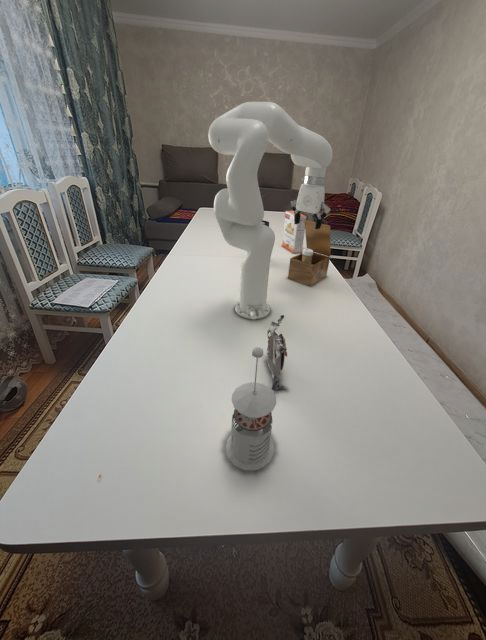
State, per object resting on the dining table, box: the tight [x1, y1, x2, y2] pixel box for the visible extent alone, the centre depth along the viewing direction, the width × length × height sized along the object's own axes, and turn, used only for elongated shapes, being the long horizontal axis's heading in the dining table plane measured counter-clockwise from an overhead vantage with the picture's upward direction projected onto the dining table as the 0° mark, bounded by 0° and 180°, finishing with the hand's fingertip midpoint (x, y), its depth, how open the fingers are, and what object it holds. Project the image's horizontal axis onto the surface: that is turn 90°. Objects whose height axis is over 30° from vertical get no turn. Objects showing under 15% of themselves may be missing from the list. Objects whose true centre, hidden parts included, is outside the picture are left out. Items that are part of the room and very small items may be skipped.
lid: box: [304, 218, 332, 258], centre depth 133 cm, size 16×12×5 cm
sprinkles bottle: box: [302, 248, 313, 264], centre depth 131 cm, size 5×5×13 cm
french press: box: [225, 347, 277, 471], centre depth 54 cm, size 10×12×25 cm
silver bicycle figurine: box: [266, 314, 288, 391], centre depth 77 cm, size 15×4×13 cm, turn 6°
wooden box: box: [287, 252, 331, 287], centre depth 135 cm, size 16×12×10 cm
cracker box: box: [281, 210, 308, 254], centre depth 167 cm, size 14×6×21 cm, turn 25°
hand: (306, 226), depth 119 cm, fingers open, 9 cm apart
